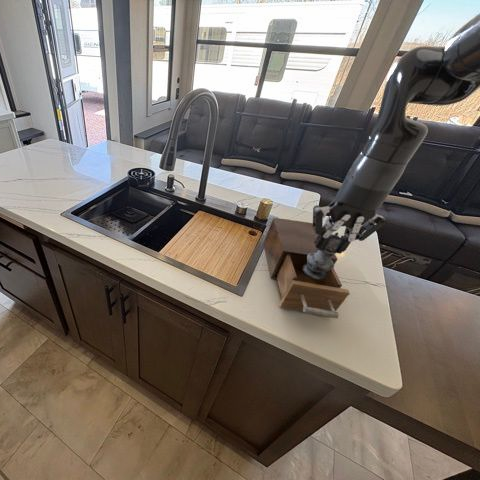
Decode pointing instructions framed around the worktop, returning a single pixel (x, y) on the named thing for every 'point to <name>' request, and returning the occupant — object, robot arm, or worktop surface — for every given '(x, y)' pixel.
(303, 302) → the open wooden drawer
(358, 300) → the worktop surface
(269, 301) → the worktop surface
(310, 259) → the dark grey chess piece
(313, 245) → the cabinet
